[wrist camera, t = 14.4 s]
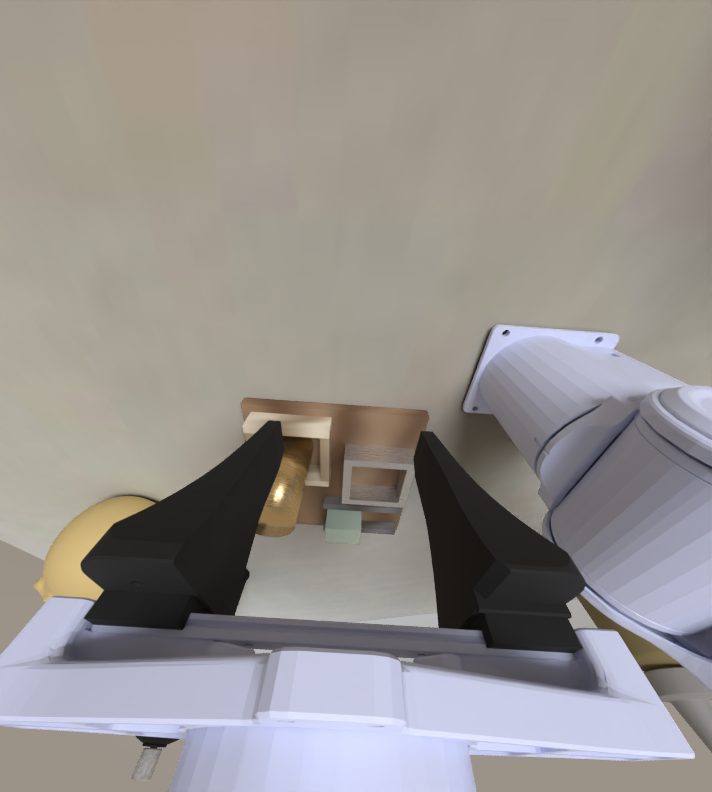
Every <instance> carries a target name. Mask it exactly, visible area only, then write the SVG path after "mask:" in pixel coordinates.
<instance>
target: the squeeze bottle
mask: <svg viewBox="0 0 712 792" xmlns="http://www.w3.org/2000/svg"><path fill="white" fill-rule="evenodd" d="M576 597H577V598H578V599H579V601H580V602H581V603H582V605H583V607H584V608H585V610H586V611H587V613H588V614H589V616H590V617H591V619H592V620H593V621H594V623H595V625H596V626H597V627H598V629H613V630H615V631H617V632H618V633H619V635H620V636H621V638H622V640H623V641H624V643H625V644H626V646H627V647H628V649H629V651H630V652H631V654H632V655H633V657H634V659H635V660H636V662H637V663H638V665H639V666H640V668H641V670H642V671H644V672H643V673H644V674H645V676H646V678H647V679H648V681H649V682H650V684H651V686H652V687H653V689H654V690H655V692H656V693H657V695H658V697H659V698H660V700H661V701H662V702H670V703H672V705H673V706H674V707H675V708H676V710H677V711H678V712H679V713H680V714H681V716H682V717H683V718H684V719H685V720H686V722H687V723H688V724H689V725H690V727H691V728H692V729H693V730H694V731H695V733H696V734H697V735H698V736H699V738H700V739H701V740H702V741H703V742H704V744H705V745H706V746H707V747H708V748H709V750H710V751H711V752H712V707H711V705H710V703H709V700H712V692H711V691H710V690H709V689H708V688H707V687H706V686H704V685H703V684H702V683H701V682H700V681H699V680H698V679H697V678H696V677H694V676H693V675H692V674H691V673H690V672H689V671H687V670H686V669H685V668H684V667H683V666H682V665H680V664H679V663H678V662H677V661H676V660H674V659H673V658H672V657H670V656H669V655H668V654H666V653H665V652H664V651H662V650H661V649H659V648H658V647H656V646H655V645H653V644H652V643H650V642H649V641H647V640H645V639H643V638H642V637H640V636H638V635H636V634H634V633H633V632H631V631H629V630H627V629H625V628H624V627H622V626H620V625H618V624H617V623H615V622H614V621H613V620H611V619H610V618H608V617H607V616H605V615H604V614H603V613H601V612H600V611H599V610H598V609H596V608H595V607H594V606H593V605H591V604H590V603H589V602H588V601H587V600H586V599H585V598H584V597H583V596H582V595H581V594H579V595H578V596H576Z"/></svg>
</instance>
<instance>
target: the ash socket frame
mask: <svg viewBox="0 0 712 792" xmlns="http://www.w3.org/2000/svg"><path fill="white" fill-rule="evenodd" d="M269 420H272V421H281V427H282V435H283V436H294V437H309V438H320V465H310V467H309V471H308V475H307V479H306V483H305V485H308V486H323V487H329V481H330V474H331V437H332V417H320V416H305V415H291V414H277V413H263V412H250V414H249V416H248V417H247V419H246V420H245V422H244V423H243V425H242V428H243V432H244V436H245V441H247V440H248V439H249V438H250V437H251V436H253V435H254V434H255V433H256V432H257V431H258V430H259V429H260V428H261V427H262V426H263V425H264V424H265V423H266V422H267V421H269Z"/></svg>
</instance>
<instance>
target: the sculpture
mask: <svg viewBox="0 0 712 792" xmlns="http://www.w3.org/2000/svg"><path fill="white" fill-rule="evenodd" d="M154 504H156V503H155V502H153V501H150V500H148V499H145V498H141V497H136V496H120V497H114V498H110V499H107V500H104V501H102V502H99V503H97V504H95V505H93V506H92V507H90V508H88V509H87V510H85V511H83V512H82V513H81V514H79V515H78V516H77V517H75V518H74V519H73V520H72V521H71V522H70V523H69V524H68V525H67V526H66V527H65V528H64V529H63V530H62V531H61V532H60V534H59V535H58V536H57V538H56V539H55V540H54V542H53V544H52V545H51V547H50V549H49V551H48V553H47V556H46V559H45V562H44V567H43V576H42V577H41V578H40V579H39V580H37V581H36V582H35V584H34V588H35V589H36V590H37V591H39V593H40V594H41V596H42V597H43V598H44V599H43V601H44V602H46V601H47V600H48V599H49V598H50V597H52V596H69V597H84V598H90V599H93V600H96V601H97V599H98V598H99V596H100V595H101V594H102V592H103V591H104V590H103V589H102V588H101V587H100V586H98V585H97V584H96V583H95V582H93V581H92V580H91V579H90V578H89V577H87V576H86V575H85V574H84V573H83V572H82V570H81V566H80V563H81V561H82V560H83V559H84V557H85V556H86V555H87V554H88V553H89V552H90V550H91V549H92V548H93V547H94V546H95V545H96V543H97V542H98V541H99V540H100V539H101V538H102V536H103V535H104V534H105V533H106V532H107V531H108V529H109V528H110V527H111V526H112V525H113V524H114V523H116V522H118V521H120V520H122V519H125V518H127V517H129V516H131V515H133V514H135V513H137V512H139V511H142V510H144V509H146V508H148V507H150V506H152V505H154Z"/></svg>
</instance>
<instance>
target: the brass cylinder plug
mask: <svg viewBox="0 0 712 792" xmlns="http://www.w3.org/2000/svg"><path fill="white" fill-rule="evenodd" d="M283 443H284V453H283V457H282V461H281V465H280V468H279V471H278V473H277V476H276V478H275V481H274V483H273V486H272V488H271V491H270V493H269V496H268V498H267V501H266V503H265V505H264V508H263V511H262V514H261V516H260V520H259V523H258V526H257V530H256V534H259V535H262V536H268V537H281V536H285V535H288V534H290V533H291V532H292V531H293V530H294V529H295V525H296V521H297V516H298V512H299V508H300V504H301V500H302V496H303V491H304V487H305V483H306V479H307V475H308V471H309V467H310V462H311V458H312V454H313V450H314V443H313V441H312V439H311V438H309V437H294V436H283Z"/></svg>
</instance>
